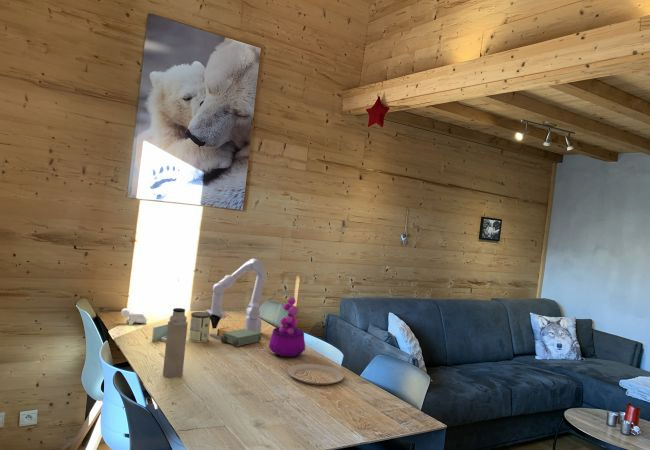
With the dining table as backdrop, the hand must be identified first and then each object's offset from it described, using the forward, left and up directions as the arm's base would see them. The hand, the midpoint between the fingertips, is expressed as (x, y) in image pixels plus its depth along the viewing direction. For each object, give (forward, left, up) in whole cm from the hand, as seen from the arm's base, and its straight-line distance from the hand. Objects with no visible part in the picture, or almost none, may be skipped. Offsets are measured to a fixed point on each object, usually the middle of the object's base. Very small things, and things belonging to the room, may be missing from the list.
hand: (214, 328), depth 276 cm
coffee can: (+16, +6, -3) cm, 17 cm away
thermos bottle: (+60, +42, -3) cm, 73 cm away
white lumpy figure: (+24, -42, -3) cm, 49 cm away
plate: (+12, +82, -3) cm, 83 cm away
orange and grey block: (0, +11, -3) cm, 11 cm away
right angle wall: (+30, -1, -4) cm, 30 cm away
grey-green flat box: (0, +16, -3) cm, 16 cm away
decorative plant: (-3, +52, -3) cm, 52 cm away
